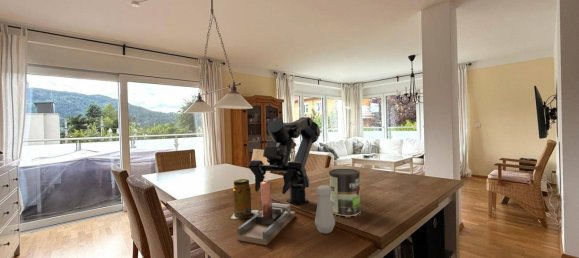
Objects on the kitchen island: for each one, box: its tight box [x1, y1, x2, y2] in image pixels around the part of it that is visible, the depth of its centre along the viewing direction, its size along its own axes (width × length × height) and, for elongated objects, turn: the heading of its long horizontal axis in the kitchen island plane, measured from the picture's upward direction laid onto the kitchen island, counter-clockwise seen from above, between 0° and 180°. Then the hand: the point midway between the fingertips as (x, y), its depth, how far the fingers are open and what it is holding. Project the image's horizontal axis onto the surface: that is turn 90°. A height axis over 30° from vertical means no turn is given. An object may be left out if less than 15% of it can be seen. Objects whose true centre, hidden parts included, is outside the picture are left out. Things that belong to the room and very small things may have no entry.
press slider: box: [256, 180, 282, 225], centre depth 77 cm, size 6×6×12 cm
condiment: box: [230, 178, 260, 220], centre depth 88 cm, size 7×8×12 cm
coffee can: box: [328, 168, 361, 216], centre depth 87 cm, size 10×10×14 cm
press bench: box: [236, 202, 296, 246], centre depth 77 cm, size 21×9×4 cm, turn 157°
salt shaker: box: [314, 184, 336, 234], centre depth 73 cm, size 6×6×13 cm
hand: (269, 192), depth 78 cm, fingers open, 9 cm apart
